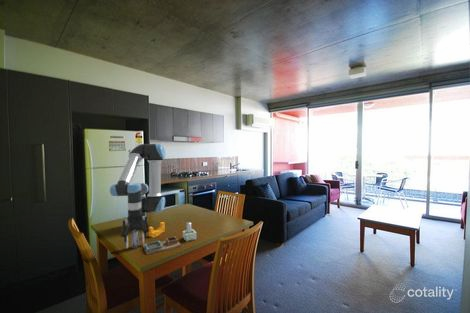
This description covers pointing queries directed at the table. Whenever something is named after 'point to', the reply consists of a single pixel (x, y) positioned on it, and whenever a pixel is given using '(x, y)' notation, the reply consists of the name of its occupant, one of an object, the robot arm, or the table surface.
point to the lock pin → (189, 228)
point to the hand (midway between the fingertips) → (135, 245)
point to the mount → (161, 245)
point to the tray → (189, 235)
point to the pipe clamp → (157, 232)
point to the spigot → (135, 239)
